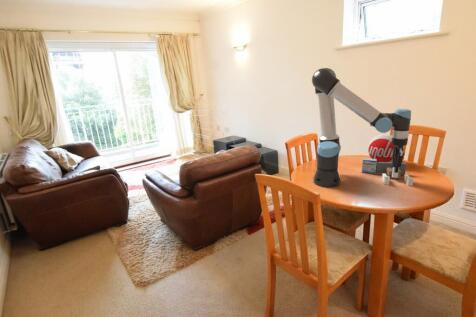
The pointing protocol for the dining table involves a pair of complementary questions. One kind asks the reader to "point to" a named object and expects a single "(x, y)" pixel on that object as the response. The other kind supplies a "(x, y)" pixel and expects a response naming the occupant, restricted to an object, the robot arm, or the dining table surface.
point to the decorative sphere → (381, 148)
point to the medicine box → (369, 165)
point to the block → (389, 173)
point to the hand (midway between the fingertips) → (394, 177)
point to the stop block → (383, 166)
